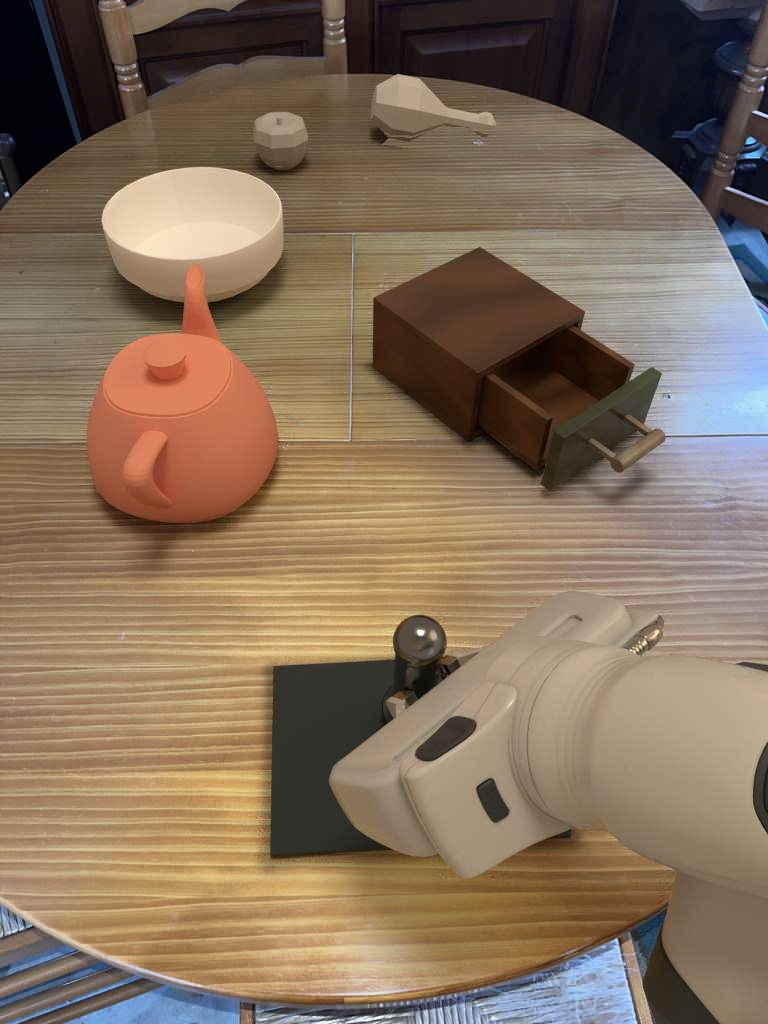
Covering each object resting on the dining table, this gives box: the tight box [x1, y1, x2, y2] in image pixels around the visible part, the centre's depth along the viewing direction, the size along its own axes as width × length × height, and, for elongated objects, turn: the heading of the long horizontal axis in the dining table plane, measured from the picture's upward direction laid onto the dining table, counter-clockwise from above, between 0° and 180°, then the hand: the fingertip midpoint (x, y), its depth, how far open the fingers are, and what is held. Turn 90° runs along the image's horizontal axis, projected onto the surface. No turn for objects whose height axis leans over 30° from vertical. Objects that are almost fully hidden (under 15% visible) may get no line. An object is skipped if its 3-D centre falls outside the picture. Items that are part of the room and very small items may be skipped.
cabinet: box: [372, 246, 586, 443], centre depth 82 cm, size 15×15×9 cm
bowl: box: [101, 166, 284, 304], centre depth 93 cm, size 20×20×8 cm
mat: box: [269, 656, 573, 859], centre depth 58 cm, size 20×14×1 cm
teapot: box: [86, 264, 279, 524], centre depth 72 cm, size 25×17×13 cm
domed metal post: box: [382, 614, 448, 725], centre depth 54 cm, size 4×4×12 cm
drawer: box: [476, 325, 667, 492], centre depth 76 cm, size 18×13×7 cm
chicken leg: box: [370, 73, 497, 143], centre depth 118 cm, size 8×18×8 cm, turn 94°
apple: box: [252, 111, 309, 171], centre depth 112 cm, size 8×8×7 cm
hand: (422, 685), depth 54 cm, fingers closed on domed metal post, 3 cm apart
